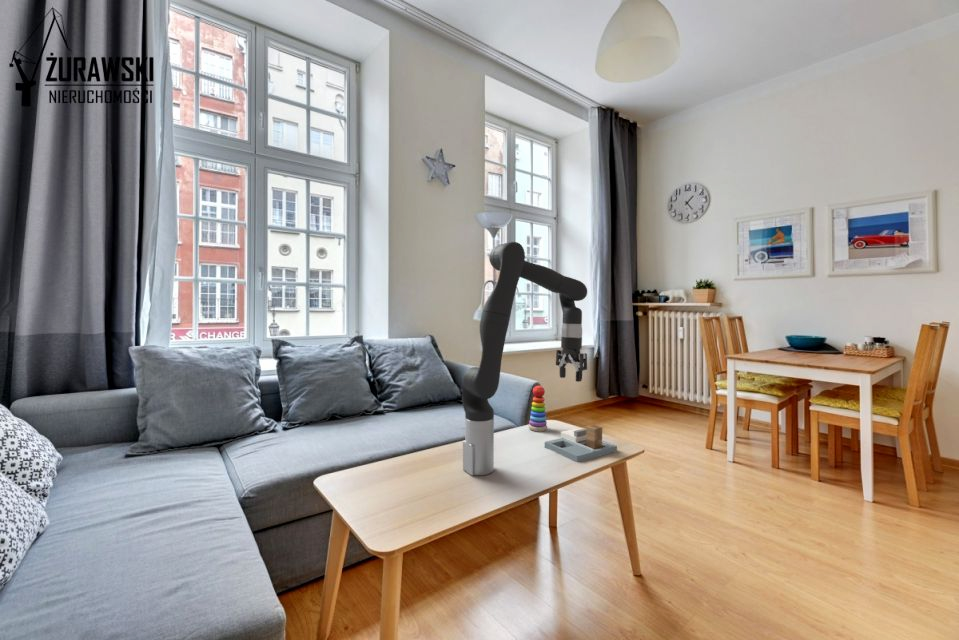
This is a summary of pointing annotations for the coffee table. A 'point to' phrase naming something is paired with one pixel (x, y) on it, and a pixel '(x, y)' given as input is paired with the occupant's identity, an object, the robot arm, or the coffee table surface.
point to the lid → (574, 434)
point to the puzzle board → (578, 449)
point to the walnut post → (594, 437)
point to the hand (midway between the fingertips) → (570, 379)
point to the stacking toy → (538, 411)
